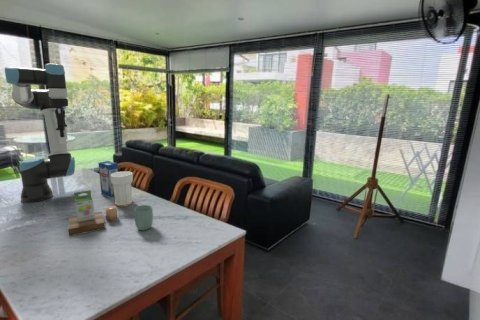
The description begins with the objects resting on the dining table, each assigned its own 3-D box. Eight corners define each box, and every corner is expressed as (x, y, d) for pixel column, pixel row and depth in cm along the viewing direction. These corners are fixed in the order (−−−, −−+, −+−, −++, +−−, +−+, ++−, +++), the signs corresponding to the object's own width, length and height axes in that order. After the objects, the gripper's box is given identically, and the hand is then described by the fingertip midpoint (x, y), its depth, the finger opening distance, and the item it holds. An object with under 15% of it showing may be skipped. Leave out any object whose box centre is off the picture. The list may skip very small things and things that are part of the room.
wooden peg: (106, 218, 134) (105, 207, 133) (117, 216, 137) (116, 205, 135) (107, 222, 130) (105, 210, 129) (118, 220, 133) (117, 208, 131)
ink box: (77, 223, 122) (74, 195, 119) (77, 219, 125) (73, 192, 122) (94, 219, 126) (92, 192, 123) (94, 216, 129) (91, 190, 126)
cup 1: (108, 205, 150) (105, 175, 146) (123, 198, 160) (121, 170, 157) (124, 208, 146) (121, 177, 142) (138, 201, 156) (137, 172, 152)
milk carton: (120, 194, 167) (117, 163, 162) (110, 197, 162) (107, 165, 157) (110, 191, 172) (107, 160, 167) (101, 194, 167) (98, 162, 162)
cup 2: (156, 226, 128) (155, 206, 125) (146, 233, 120) (144, 212, 118) (143, 223, 130) (141, 203, 128) (131, 230, 123) (130, 210, 121)
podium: (69, 222, 129) (68, 217, 128) (102, 216, 136) (101, 211, 135) (68, 235, 117) (68, 229, 116) (104, 228, 124) (104, 222, 123)
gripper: (51, 97, 138) (56, 138, 143) (46, 98, 117) (52, 146, 122) (68, 97, 142) (73, 137, 147) (66, 98, 121) (72, 145, 126)
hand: (63, 141), depth 134 cm, fingers open, 13 cm apart
